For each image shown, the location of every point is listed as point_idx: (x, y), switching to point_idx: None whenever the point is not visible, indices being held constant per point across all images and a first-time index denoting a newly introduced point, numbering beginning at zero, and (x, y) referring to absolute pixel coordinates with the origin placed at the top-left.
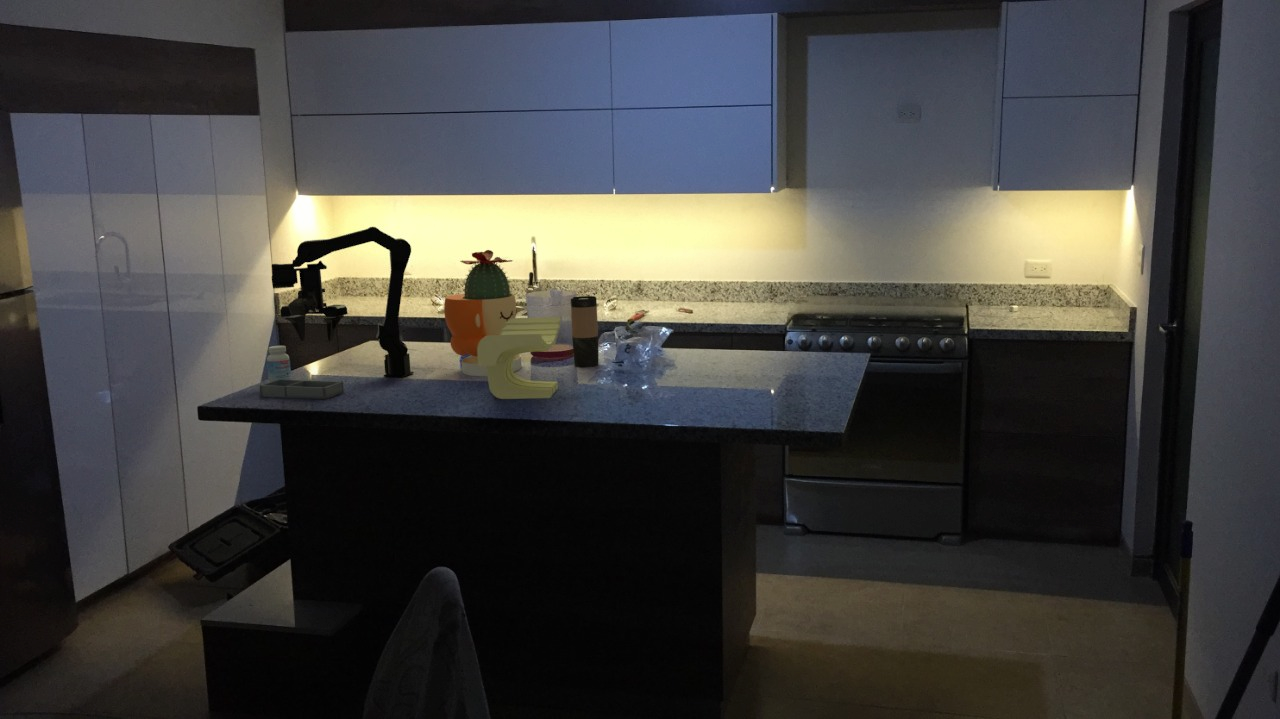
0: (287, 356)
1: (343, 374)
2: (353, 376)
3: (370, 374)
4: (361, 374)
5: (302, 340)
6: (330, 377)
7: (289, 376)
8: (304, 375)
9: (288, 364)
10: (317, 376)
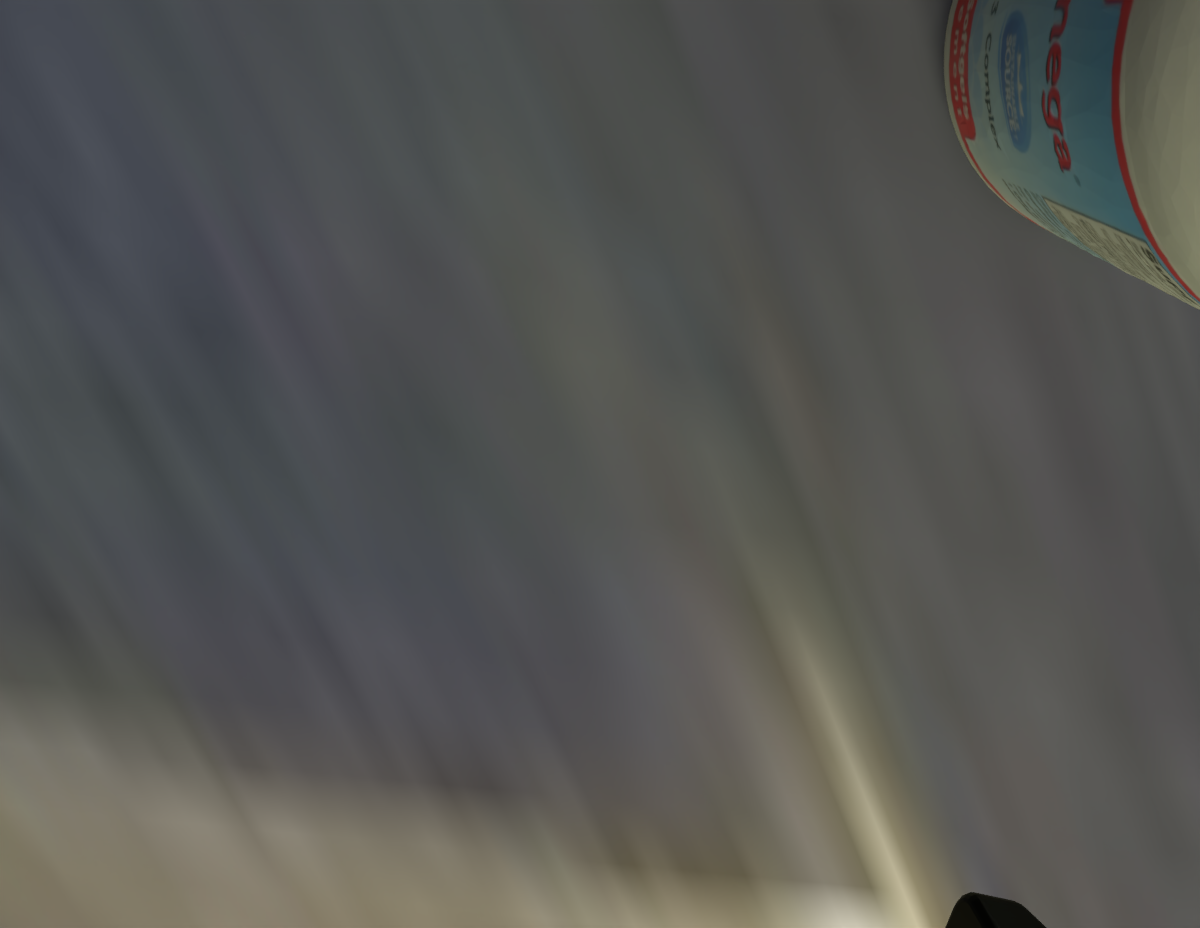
0: (1191, 28)
1: (424, 905)
2: (199, 760)
3: (21, 866)
4: (154, 879)
5: (960, 913)
6: (525, 724)
7: (990, 13)
8: None
9: (1081, 13)
10: (766, 812)
